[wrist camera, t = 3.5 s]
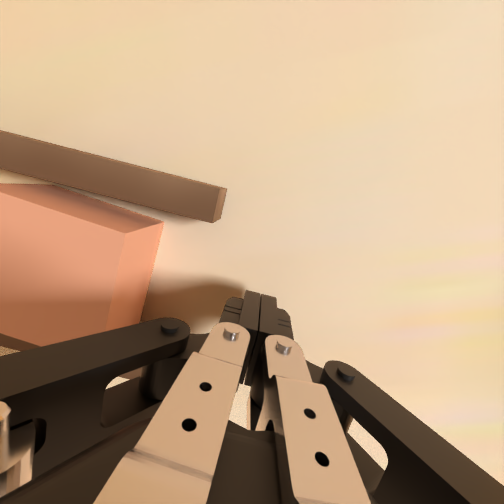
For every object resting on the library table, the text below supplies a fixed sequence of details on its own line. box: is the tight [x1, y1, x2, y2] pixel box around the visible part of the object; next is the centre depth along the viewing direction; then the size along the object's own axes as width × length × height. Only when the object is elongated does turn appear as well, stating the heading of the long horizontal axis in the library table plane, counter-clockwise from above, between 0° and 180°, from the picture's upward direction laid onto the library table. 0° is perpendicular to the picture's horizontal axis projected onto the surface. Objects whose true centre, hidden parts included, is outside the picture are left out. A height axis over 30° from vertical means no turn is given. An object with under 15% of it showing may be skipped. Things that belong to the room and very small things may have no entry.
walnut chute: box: [0, 130, 227, 380], centre depth 13 cm, size 10×14×2 cm
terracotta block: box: [0, 183, 164, 347], centre depth 13 cm, size 6×6×4 cm
